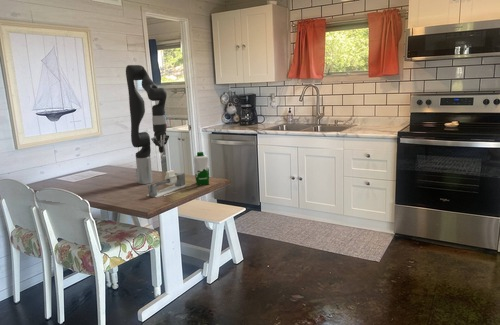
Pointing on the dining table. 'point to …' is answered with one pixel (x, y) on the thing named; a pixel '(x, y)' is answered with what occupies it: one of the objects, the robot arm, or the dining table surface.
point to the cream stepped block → (171, 177)
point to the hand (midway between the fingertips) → (161, 152)
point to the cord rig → (178, 185)
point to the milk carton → (201, 169)
